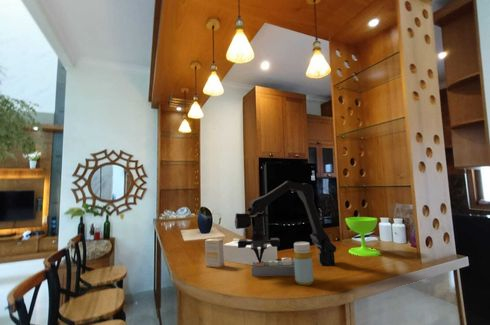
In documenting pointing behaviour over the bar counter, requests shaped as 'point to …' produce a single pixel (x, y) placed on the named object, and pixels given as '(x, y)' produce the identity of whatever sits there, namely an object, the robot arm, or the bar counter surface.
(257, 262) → the key terracotta
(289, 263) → the key cream
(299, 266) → the bottle
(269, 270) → the keypad
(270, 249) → the tissue box
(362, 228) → the wineglass
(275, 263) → the key sage
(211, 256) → the supplement box
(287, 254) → the bar counter surface
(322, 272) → the bar counter surface
